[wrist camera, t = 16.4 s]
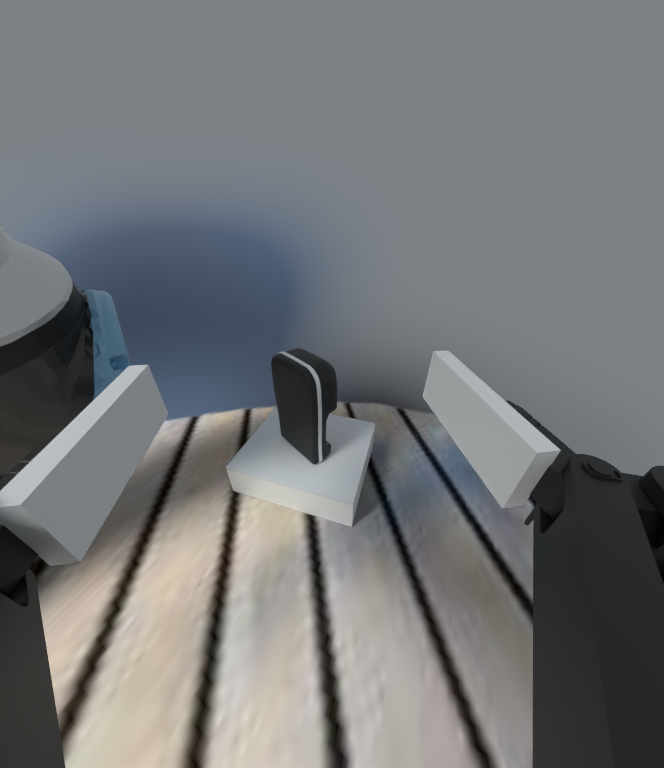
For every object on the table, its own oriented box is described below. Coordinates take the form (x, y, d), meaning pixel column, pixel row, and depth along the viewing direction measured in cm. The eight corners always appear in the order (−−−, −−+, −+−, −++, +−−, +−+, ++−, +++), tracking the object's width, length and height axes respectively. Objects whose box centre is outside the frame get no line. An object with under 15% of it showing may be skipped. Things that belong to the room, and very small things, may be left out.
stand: (233, 490, 31) (225, 466, 29) (281, 425, 40) (278, 403, 38) (351, 527, 27) (353, 502, 25) (373, 445, 37) (375, 423, 35)
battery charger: (341, 451, 30) (343, 361, 24) (315, 469, 28) (311, 375, 22) (303, 422, 35) (297, 339, 29) (279, 435, 33) (267, 349, 27)
